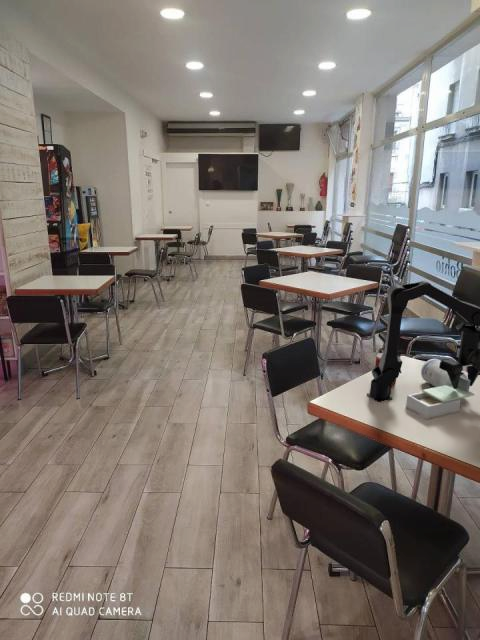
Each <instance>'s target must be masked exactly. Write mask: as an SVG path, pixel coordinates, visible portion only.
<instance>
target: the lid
mask: <svg viewBox="0 0 480 640" xmlns="http://www.w3.org/2000/svg"><path fill="white" fill-rule="evenodd" d="M467 378H468V377H467ZM467 378H464V377H462V376H460V379H459V383H458V387H457V389H454V388H453V386H452V384H450V385H445V386H440V387H430V388H426V389H422V391H421V392H424V393H426V394H428V395H430V396H432V397H434V398H436V399H438V400H440V401H442V402H448V401H452V400H457V399H461V400H462V399H464V398H465V399H466V398H469V397H473V396H475V393H473V392H471V391H469V390H470V387H471V386H470V381H471V380H469V379H467Z"/></svg>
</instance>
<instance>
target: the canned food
mask: <svg viewBox="0 0 480 640" xmlns="http://www.w3.org/2000/svg"><path fill="white" fill-rule="evenodd" d="M383 353H384V352H380V353H377V354H376V355H375V356H376V357H375V365H374V368H376V367H377V366H378V365H379V363H380V359H381V357H382V355H383ZM396 383H397V378H396V379H395V380H393V382H392V384H391V385H392V386H391V388H394V387H395V386H396Z"/></svg>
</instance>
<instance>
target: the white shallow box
mask: <svg viewBox="0 0 480 640" xmlns="http://www.w3.org/2000/svg"><path fill="white" fill-rule="evenodd" d="M461 400H462V398H461V399H457V400H452V401H448V402H442V401H440V400H438V399H436V398H434V397H432V396H430V395H428V394H426V393H424V392H422V391H421V392H417V393H412V394H407V396H406V403H405V408H406V409H408V410H409V411H411V412H413V413H414V414H417V415H418V416H420V417H421V418H423V419H424V420H430V419H435V418H440V417H444V416H449V415H452V414H457V413H460V405H461Z"/></svg>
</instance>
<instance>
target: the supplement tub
mask: <svg viewBox="0 0 480 640" xmlns="http://www.w3.org/2000/svg"><path fill="white" fill-rule="evenodd" d="M441 361H442V360H441V359H438V358H431V359H428V360H427V361H425V362H424V363H423V365H422V367H421V370H420V375H421V377H422V379H423V380H424V381H425V382H427V383H428V384H430V385H431V386H433V388H435V387H440V386H445V385H450V384H452V383H451V381H450V378H449V376H448V373H447V371H445V370H442V369H440V368H439V365H440V362H441ZM461 376H462V377H464V378H467V379H468V375H466V374H465V373H464V374H463V375H461Z"/></svg>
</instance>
